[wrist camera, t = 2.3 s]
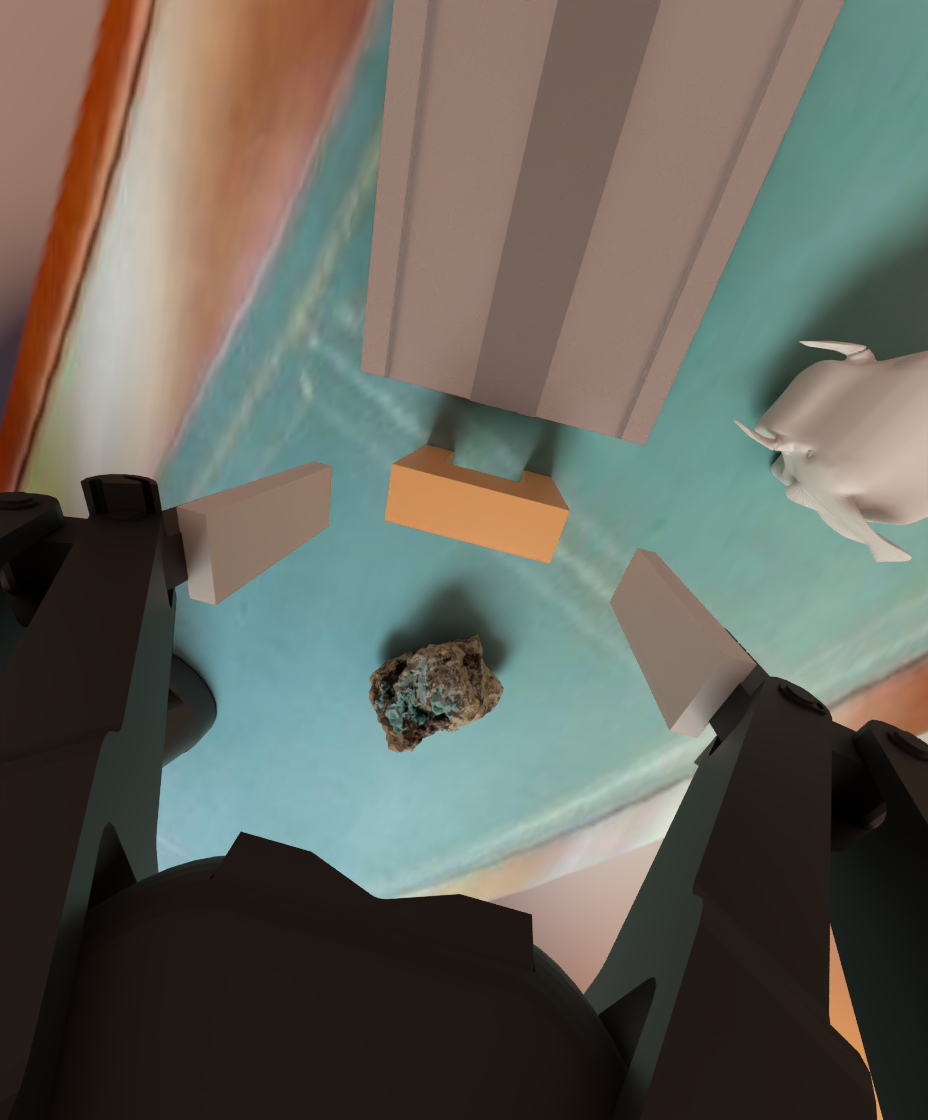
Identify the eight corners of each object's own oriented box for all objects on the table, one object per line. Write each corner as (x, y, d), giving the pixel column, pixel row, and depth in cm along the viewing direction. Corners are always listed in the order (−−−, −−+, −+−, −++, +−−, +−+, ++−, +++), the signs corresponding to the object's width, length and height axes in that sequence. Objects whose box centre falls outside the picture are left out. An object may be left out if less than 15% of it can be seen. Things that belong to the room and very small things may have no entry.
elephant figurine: (806, 296, 19) (1029, 219, 11) (967, 409, 20) (1273, 416, 12) (678, 456, 23) (771, 487, 15) (819, 541, 24) (976, 613, 16)
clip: (419, 485, 26) (384, 520, 18) (426, 444, 24) (392, 464, 17) (537, 516, 26) (549, 563, 18) (551, 477, 24) (569, 510, 17)
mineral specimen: (464, 609, 29) (410, 683, 23) (524, 688, 30) (490, 777, 25) (384, 640, 37) (329, 701, 31) (436, 701, 38) (394, 771, 32)
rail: (369, 372, 23) (347, 368, 20) (416, -92, 15) (392, -224, 12) (635, 442, 23) (656, 449, 20) (823, 14, 15) (908, -90, 12)
